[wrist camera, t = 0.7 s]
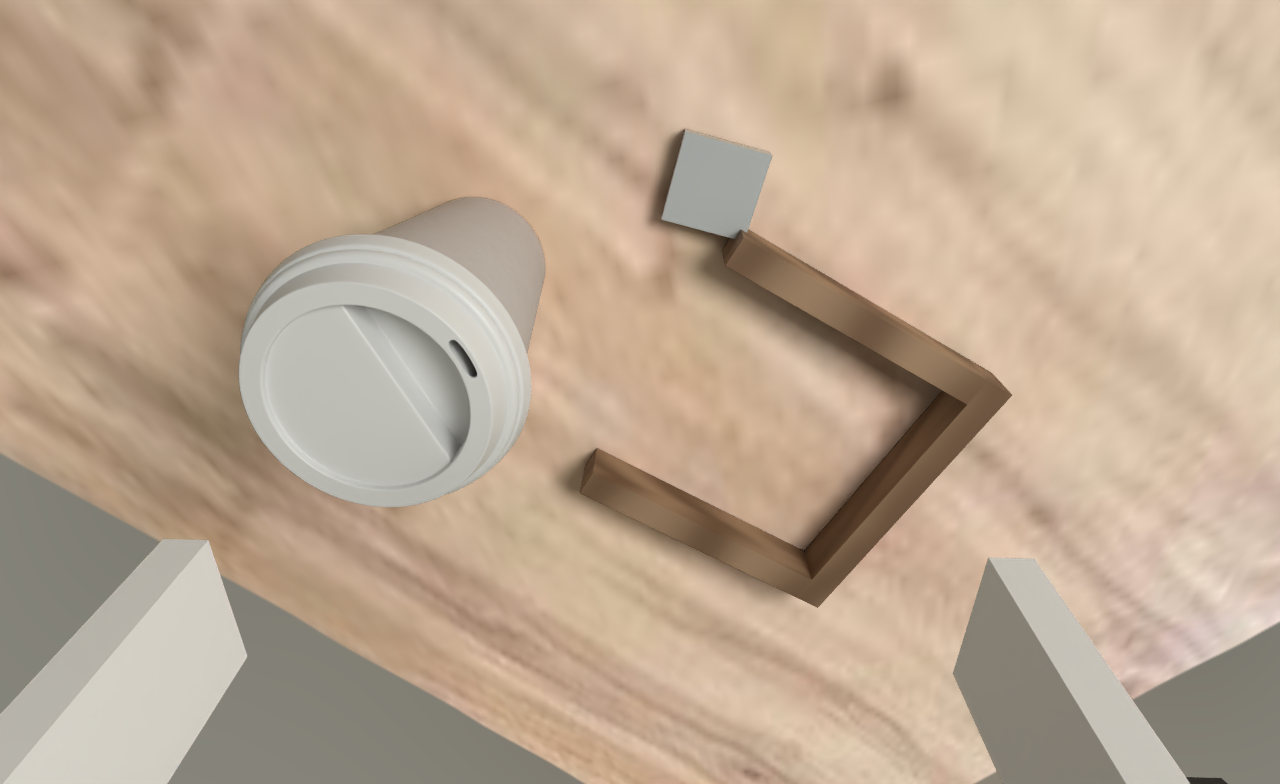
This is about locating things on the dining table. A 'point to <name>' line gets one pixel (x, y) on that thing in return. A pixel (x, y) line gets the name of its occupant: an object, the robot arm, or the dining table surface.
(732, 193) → the slate tile
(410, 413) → the coffee cup
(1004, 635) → the robot arm
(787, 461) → the dining table surface
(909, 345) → the bracket
